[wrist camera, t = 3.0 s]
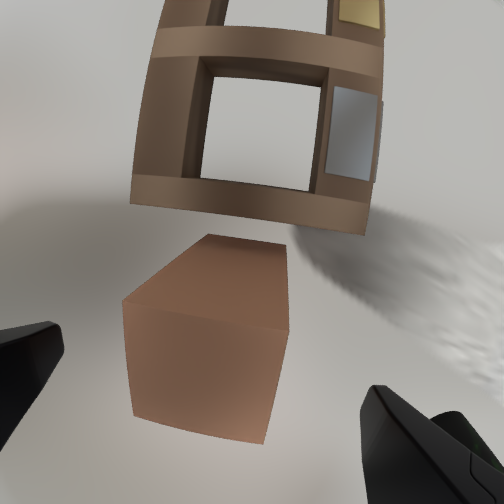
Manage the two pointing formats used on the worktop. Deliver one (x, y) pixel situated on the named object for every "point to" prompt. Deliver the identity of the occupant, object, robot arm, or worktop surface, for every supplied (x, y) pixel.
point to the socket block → (274, 69)
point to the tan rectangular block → (210, 338)
